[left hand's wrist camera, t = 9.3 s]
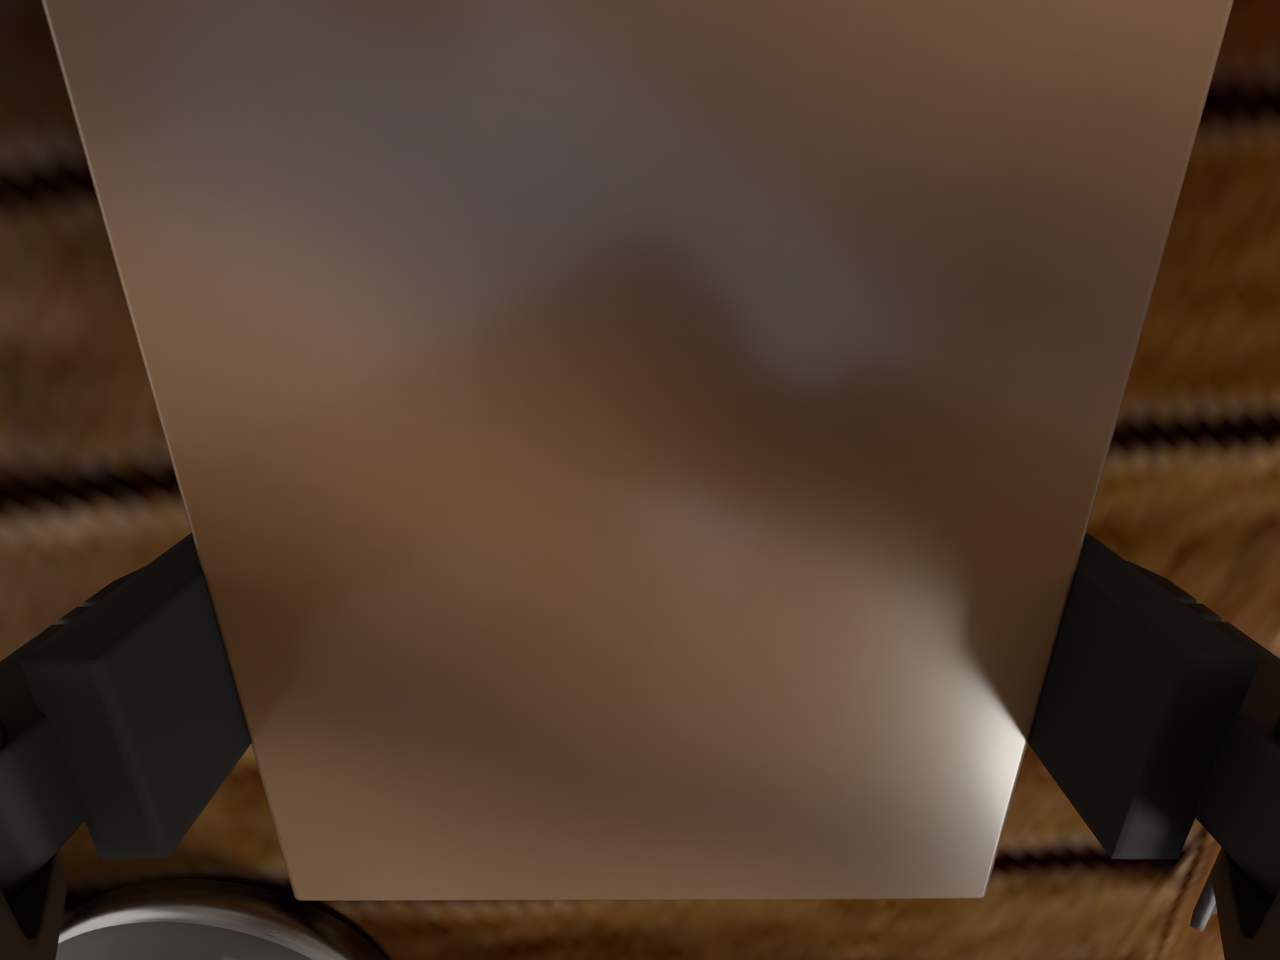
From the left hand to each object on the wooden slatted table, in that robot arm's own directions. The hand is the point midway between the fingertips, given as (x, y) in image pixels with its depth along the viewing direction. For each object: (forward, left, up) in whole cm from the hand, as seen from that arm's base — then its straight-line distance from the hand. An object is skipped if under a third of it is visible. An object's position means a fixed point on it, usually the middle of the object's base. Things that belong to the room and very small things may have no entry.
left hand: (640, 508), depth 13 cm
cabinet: (+1, +6, -7) cm, 9 cm away
